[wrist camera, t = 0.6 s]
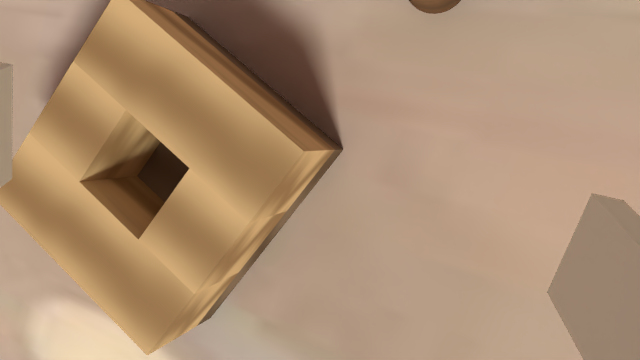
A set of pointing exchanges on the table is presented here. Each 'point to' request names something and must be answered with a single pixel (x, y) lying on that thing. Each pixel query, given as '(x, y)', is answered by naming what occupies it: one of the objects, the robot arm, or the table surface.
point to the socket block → (161, 171)
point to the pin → (434, 5)
